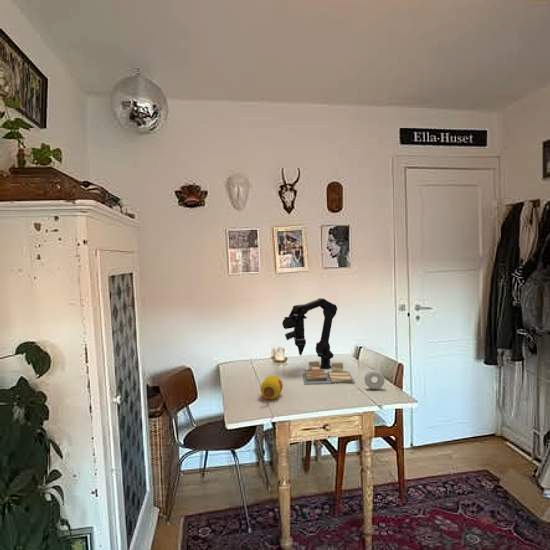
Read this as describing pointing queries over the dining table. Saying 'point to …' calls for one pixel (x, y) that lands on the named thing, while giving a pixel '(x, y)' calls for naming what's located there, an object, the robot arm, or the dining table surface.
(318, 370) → the block
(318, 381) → the lane mat
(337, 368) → the tan piece
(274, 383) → the yellow piece
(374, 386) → the donut
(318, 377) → the darker brown strip
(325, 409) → the dining table surface
